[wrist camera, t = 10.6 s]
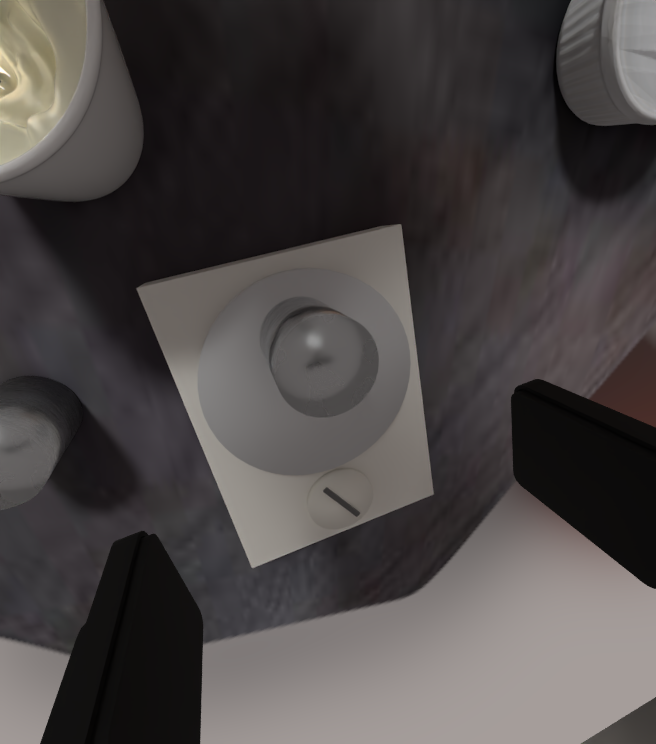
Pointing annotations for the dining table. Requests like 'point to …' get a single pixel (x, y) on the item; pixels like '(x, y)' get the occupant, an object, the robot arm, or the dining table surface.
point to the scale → (269, 409)
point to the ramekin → (609, 61)
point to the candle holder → (64, 102)
